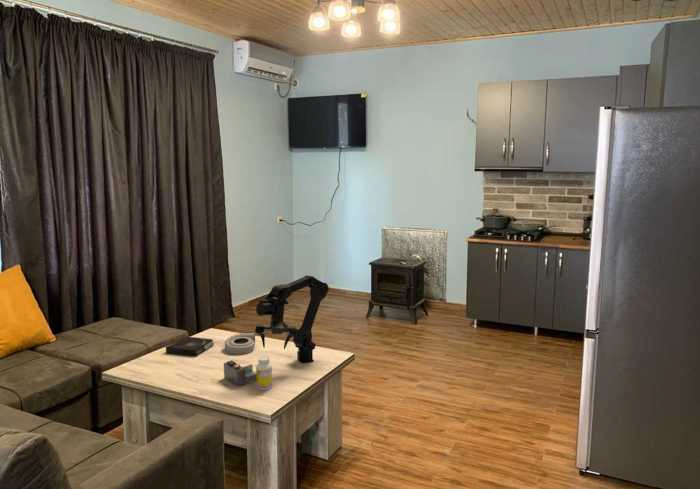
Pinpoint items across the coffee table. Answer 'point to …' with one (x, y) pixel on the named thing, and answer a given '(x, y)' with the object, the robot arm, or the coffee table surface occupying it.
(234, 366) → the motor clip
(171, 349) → the portable cd player
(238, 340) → the turbocharger housing
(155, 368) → the coffee table surface
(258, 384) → the supplement bottle
